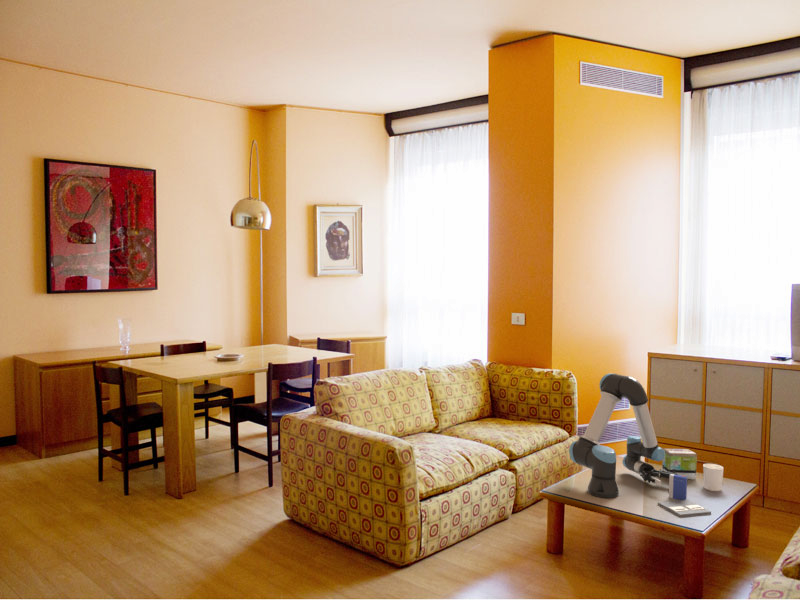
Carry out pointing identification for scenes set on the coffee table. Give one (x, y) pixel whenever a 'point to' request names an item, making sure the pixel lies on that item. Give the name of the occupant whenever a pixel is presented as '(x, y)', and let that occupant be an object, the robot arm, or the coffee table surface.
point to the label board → (684, 508)
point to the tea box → (680, 462)
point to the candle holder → (712, 477)
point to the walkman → (677, 487)
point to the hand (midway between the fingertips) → (671, 482)
